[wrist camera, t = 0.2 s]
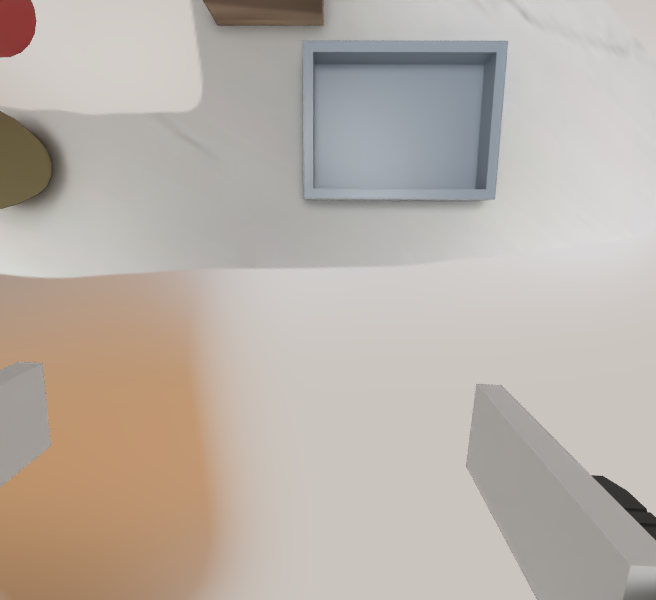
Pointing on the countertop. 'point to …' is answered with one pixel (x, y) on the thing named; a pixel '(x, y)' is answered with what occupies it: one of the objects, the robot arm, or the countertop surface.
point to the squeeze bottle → (21, 163)
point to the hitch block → (266, 12)
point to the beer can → (16, 26)
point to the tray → (402, 119)
